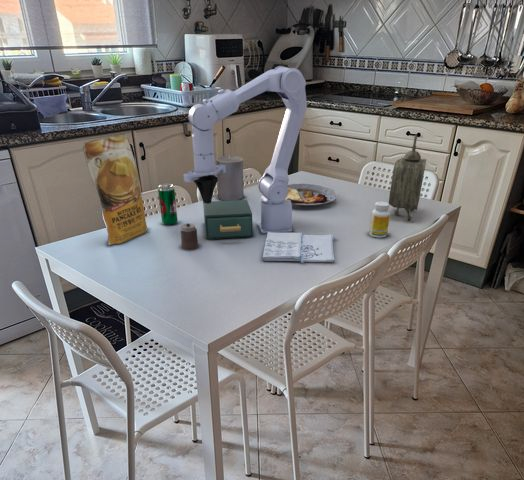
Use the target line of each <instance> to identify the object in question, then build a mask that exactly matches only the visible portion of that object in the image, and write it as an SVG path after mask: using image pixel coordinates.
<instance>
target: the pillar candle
mask: <svg viewBox="0 0 524 480" xmlns="http://www.w3.org/2000/svg"><path fill="white" fill-rule="evenodd" d="M216 165H225V166H226V172H225V173H219V174H216V177H218V181H217V183H216V188H217V189H216V190H217V199H219V201H230V200H243V199H244V198H245V197H244V196H245V195H244V194H245V193H244V158H242V157H241V156H237V155H230V154H228V155H222V156H218V157H216V158H215V166H216Z"/></svg>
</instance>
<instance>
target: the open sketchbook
mask: <svg viewBox="0 0 524 480" xmlns="http://www.w3.org/2000/svg"><path fill="white" fill-rule="evenodd" d="M334 240H336V239H335V237H334V234H303V233H302V232H278V233H277V232H273V233H272V232H267V233H266V239H265V242H264V246H263V247H264V248H263V253H262V260H263V261H264V262H300V263H301V264H305V263H334V262H335V260H336V259H335V255H334Z"/></svg>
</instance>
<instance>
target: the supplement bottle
mask: <svg viewBox="0 0 524 480" xmlns="http://www.w3.org/2000/svg"><path fill="white" fill-rule="evenodd" d="M389 209H390V204H389V202H386V201H377V202H375V204H374V209H373V210H372V211H371V217H370V223H369V231H368V233H369V236H371V237H372V238H378V239H381V238H382V239H383V238H385V237H387V235H388V231H389V225H390V218H391V211H390V210H389Z"/></svg>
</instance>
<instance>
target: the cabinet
mask: <svg viewBox="0 0 524 480" xmlns="http://www.w3.org/2000/svg"><path fill="white" fill-rule="evenodd" d="M202 206H203V220H204V221H203V222H204V230H205V236H206V240H213V239H215V240H216V239H231V238H233V239H234V238H249V237H250V238H251V237H253V212H252V208H251V206H250V204H249V202H248V199H239V200H230V201H224V200H211V203H209V204H207V203H203V202H202ZM230 216H250V217H251V235H248V236H229V237H211V238H209V237H208V223H207V218H210V217H230Z"/></svg>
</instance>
